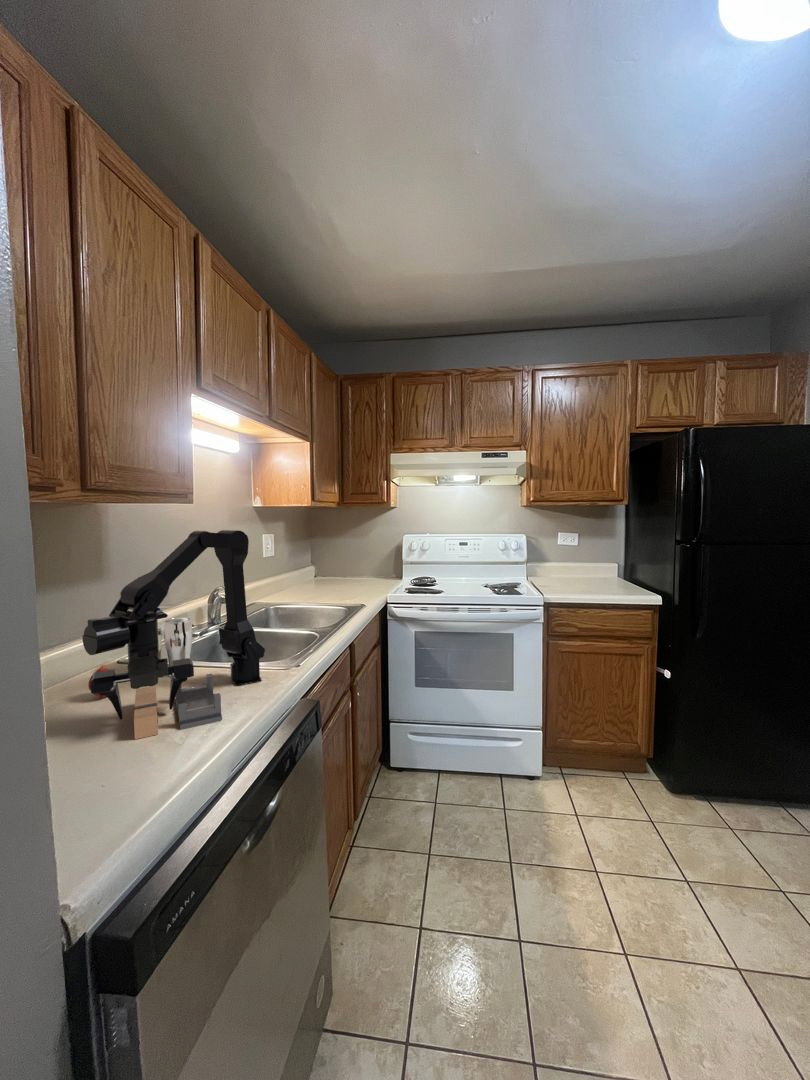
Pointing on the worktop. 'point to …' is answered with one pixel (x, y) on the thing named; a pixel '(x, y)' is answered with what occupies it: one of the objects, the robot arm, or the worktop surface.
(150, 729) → the banded tan post
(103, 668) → the onion
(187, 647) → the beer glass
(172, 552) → the robot arm
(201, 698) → the collar stand
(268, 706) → the worktop surface
